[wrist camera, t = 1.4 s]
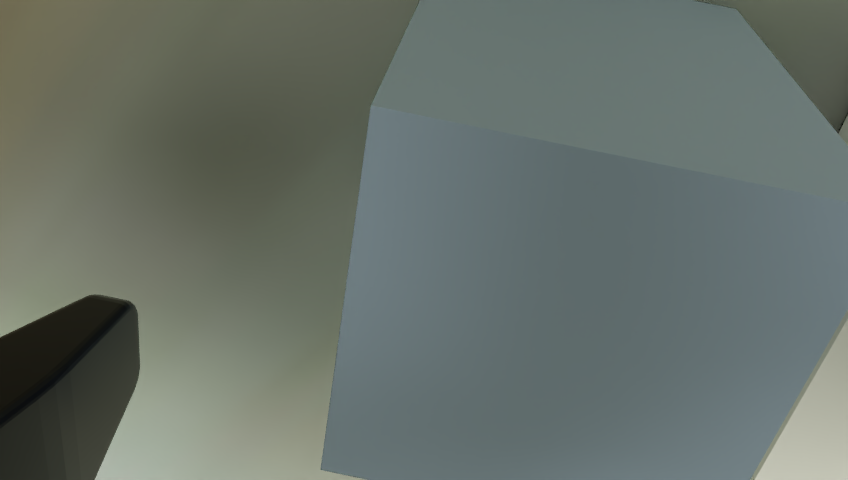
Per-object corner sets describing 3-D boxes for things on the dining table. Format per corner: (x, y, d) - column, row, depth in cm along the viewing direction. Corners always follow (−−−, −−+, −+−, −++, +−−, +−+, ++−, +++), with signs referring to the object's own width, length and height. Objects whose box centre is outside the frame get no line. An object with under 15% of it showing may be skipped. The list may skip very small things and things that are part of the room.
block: (735, 8, 13) (902, 213, 7) (642, 253, 16) (709, 550, 10) (443, -50, 13) (371, 105, 7) (399, 203, 16) (320, 470, 10)
